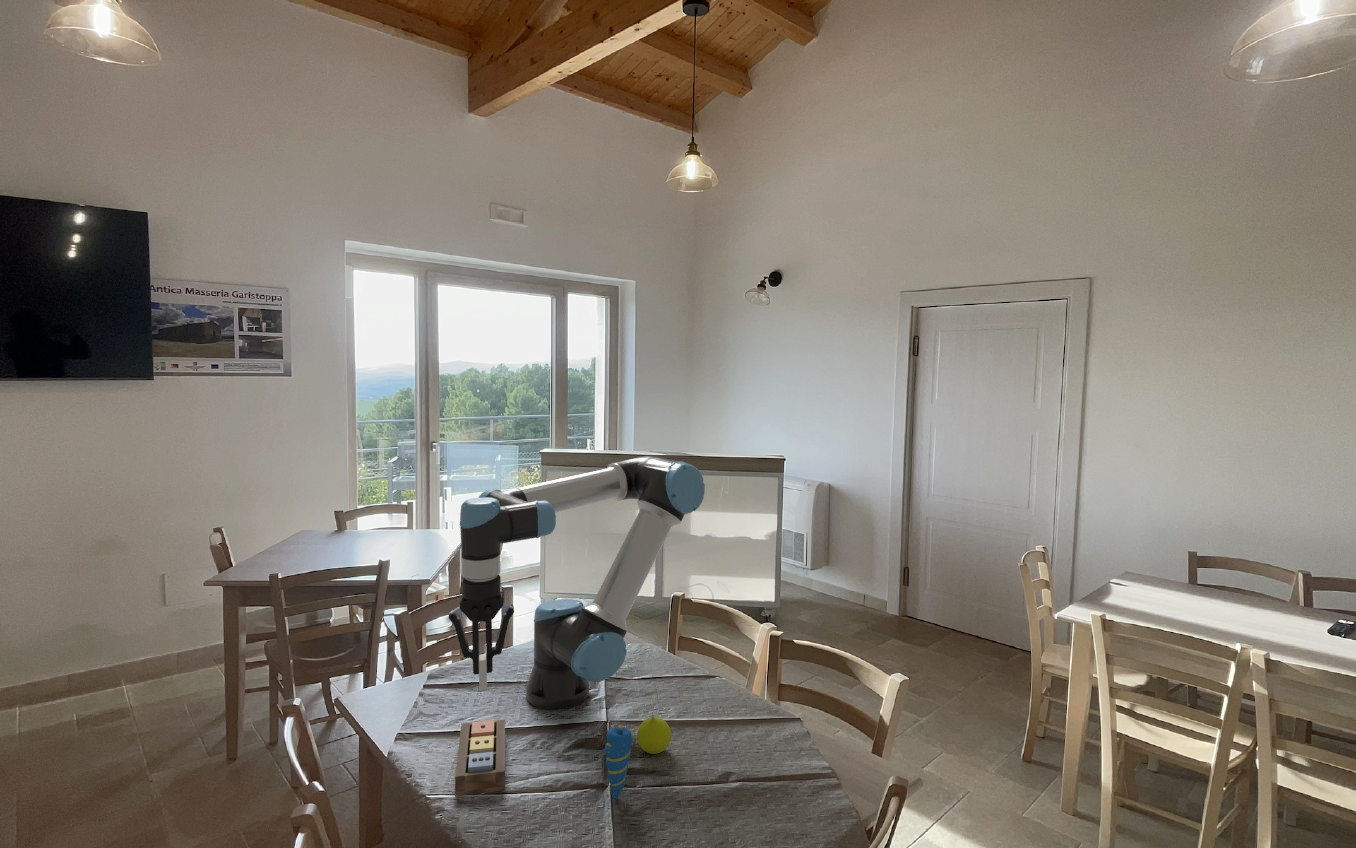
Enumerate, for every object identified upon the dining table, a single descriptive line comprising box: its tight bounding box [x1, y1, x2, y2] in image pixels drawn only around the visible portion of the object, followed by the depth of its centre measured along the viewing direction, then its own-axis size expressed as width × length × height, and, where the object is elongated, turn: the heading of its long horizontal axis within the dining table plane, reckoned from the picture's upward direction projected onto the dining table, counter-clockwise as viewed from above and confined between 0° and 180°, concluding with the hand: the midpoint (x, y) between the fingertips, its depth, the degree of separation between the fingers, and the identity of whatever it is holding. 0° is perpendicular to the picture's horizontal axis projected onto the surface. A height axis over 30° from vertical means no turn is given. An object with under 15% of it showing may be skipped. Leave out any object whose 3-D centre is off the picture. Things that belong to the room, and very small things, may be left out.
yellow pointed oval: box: [636, 714, 672, 755], centre depth 145 cm, size 7×7×10 cm
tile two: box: [470, 735, 494, 754], centre depth 138 cm, size 4×4×3 cm
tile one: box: [471, 719, 495, 737], centre depth 144 cm, size 4×4×3 cm
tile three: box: [468, 752, 493, 773], centre depth 132 cm, size 4×4×3 cm
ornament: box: [604, 723, 634, 800], centre depth 128 cm, size 5×5×15 cm
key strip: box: [454, 719, 506, 797], centre depth 138 cm, size 9×19×4 cm, turn 14°
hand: (483, 687), depth 140 cm, fingers closed
